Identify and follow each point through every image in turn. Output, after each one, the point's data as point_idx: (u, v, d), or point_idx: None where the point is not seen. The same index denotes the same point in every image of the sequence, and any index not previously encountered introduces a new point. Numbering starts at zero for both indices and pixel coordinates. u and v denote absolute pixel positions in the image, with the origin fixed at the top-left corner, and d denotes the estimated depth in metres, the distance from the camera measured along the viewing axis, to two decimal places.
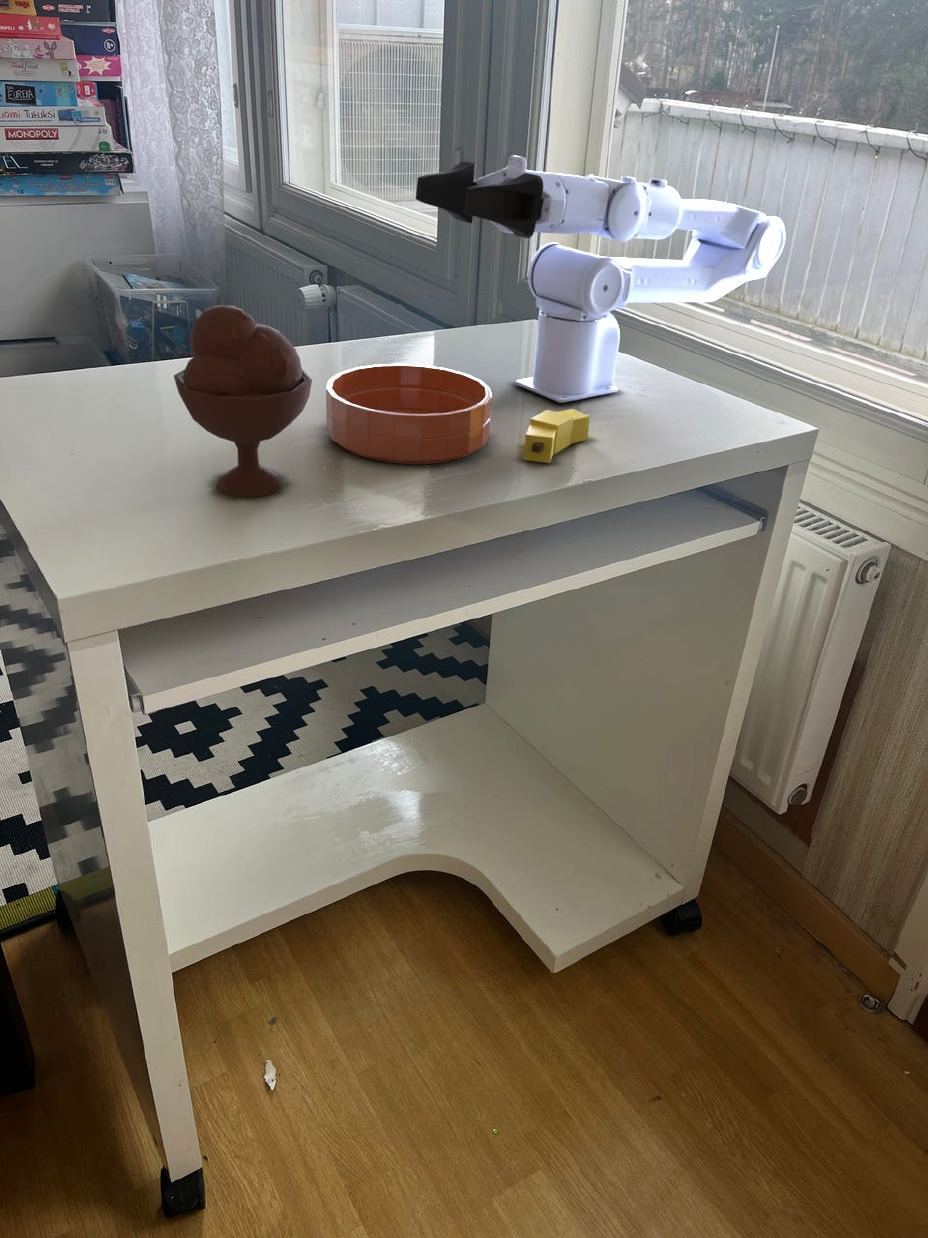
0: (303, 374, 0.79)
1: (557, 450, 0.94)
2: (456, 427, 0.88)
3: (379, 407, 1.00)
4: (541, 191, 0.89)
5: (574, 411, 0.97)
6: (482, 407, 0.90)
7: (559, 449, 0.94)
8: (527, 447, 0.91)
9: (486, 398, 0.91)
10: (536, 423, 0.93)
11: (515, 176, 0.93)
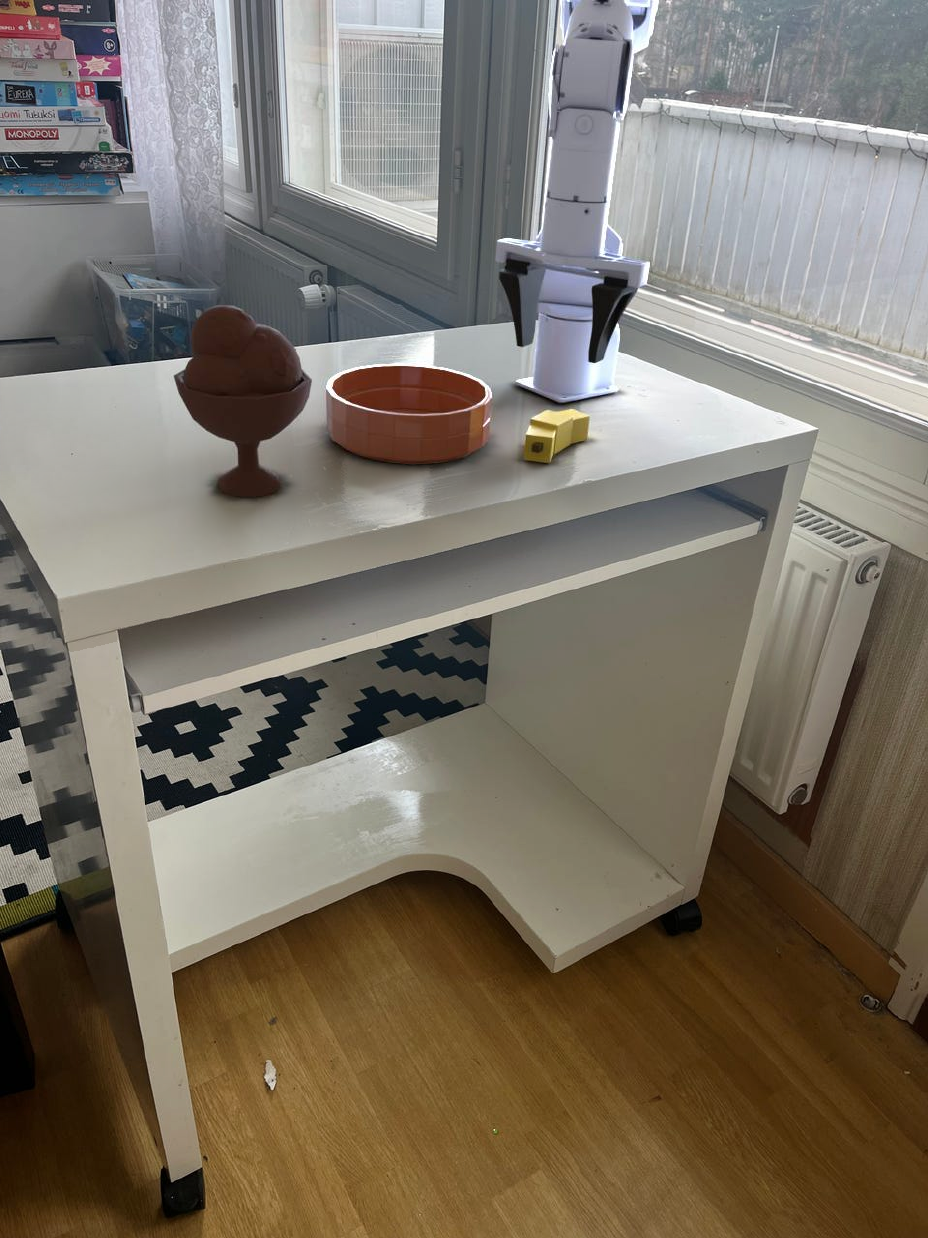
0: (303, 374, 0.79)
1: (557, 450, 0.94)
2: (456, 427, 0.88)
3: (379, 407, 1.00)
4: (623, 290, 0.83)
5: (574, 411, 0.97)
6: (482, 407, 0.90)
7: (559, 449, 0.94)
8: (527, 447, 0.91)
9: (486, 398, 0.91)
10: (536, 423, 0.93)
11: None
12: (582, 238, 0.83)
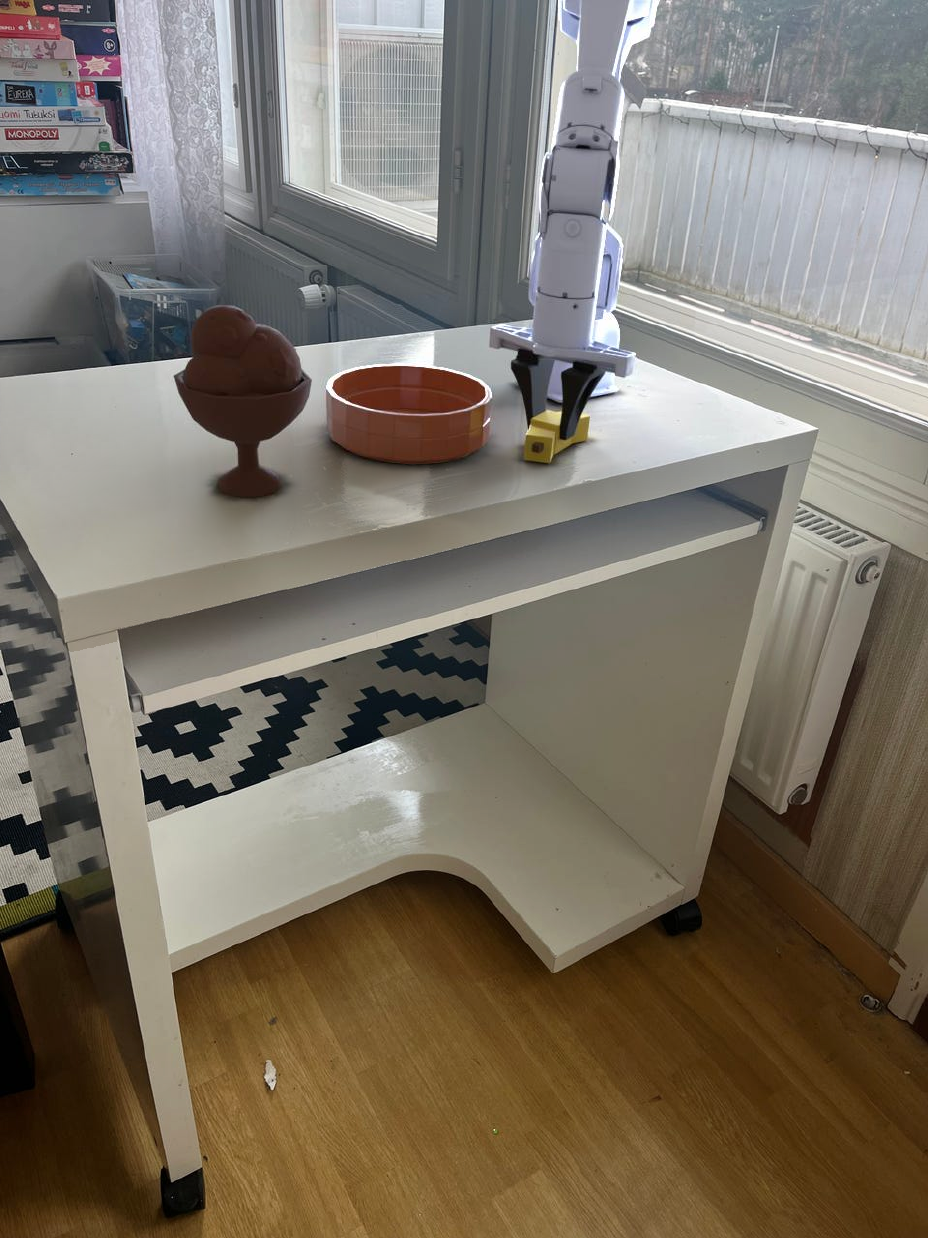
0: (303, 374, 0.79)
1: (557, 450, 0.94)
2: (456, 427, 0.88)
3: (379, 407, 1.00)
4: (590, 376, 0.88)
5: None
6: (482, 407, 0.90)
7: (560, 449, 0.94)
8: (527, 447, 0.91)
9: (486, 398, 0.91)
10: (536, 423, 0.93)
11: None
12: (571, 331, 0.87)
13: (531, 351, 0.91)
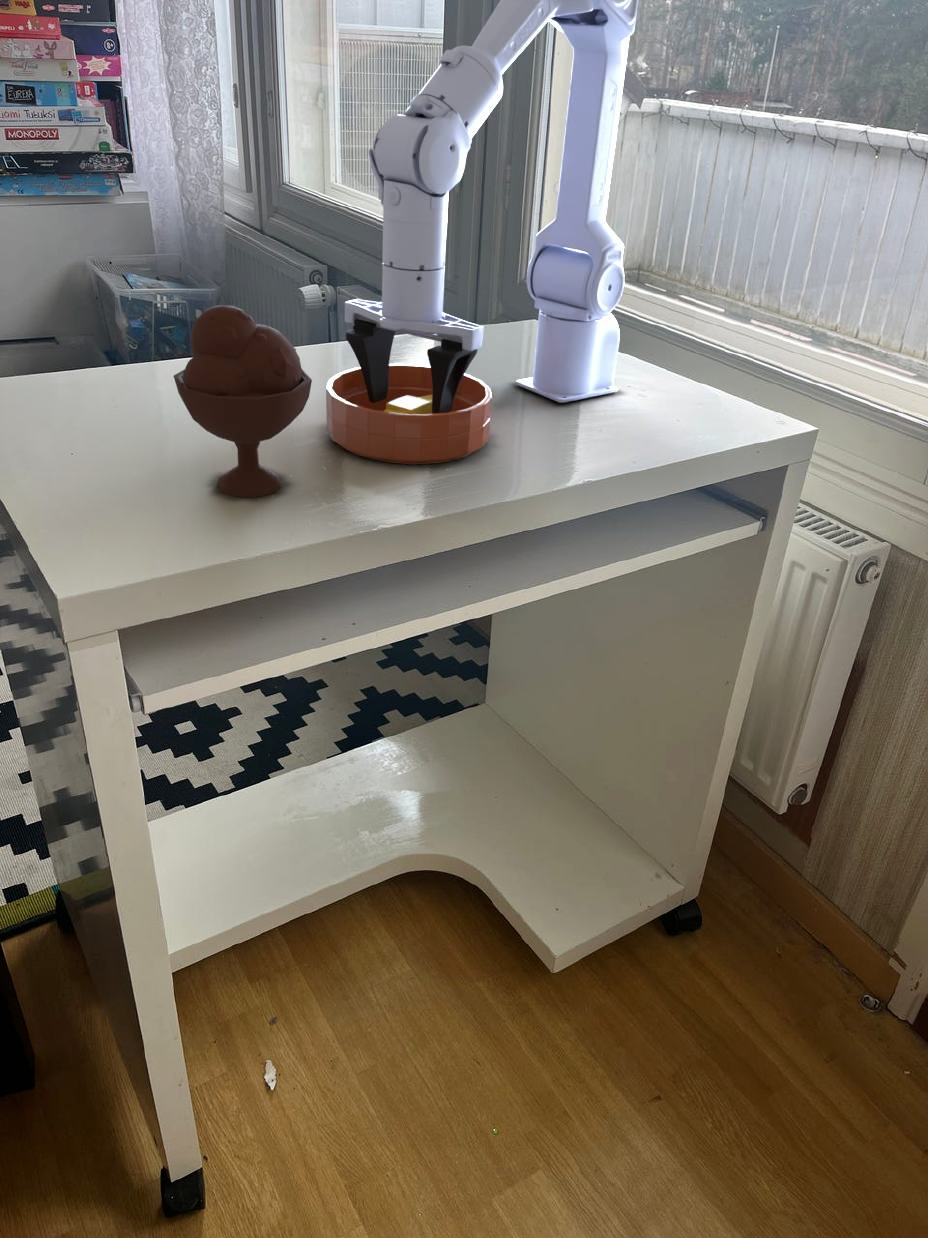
0: (303, 374, 0.79)
1: None
2: (456, 427, 0.88)
3: (379, 407, 1.00)
4: (457, 354, 0.86)
5: None
6: (482, 407, 0.90)
7: None
8: None
9: (486, 398, 0.91)
10: (391, 408, 0.92)
11: None
12: (416, 304, 0.86)
13: (367, 321, 0.91)
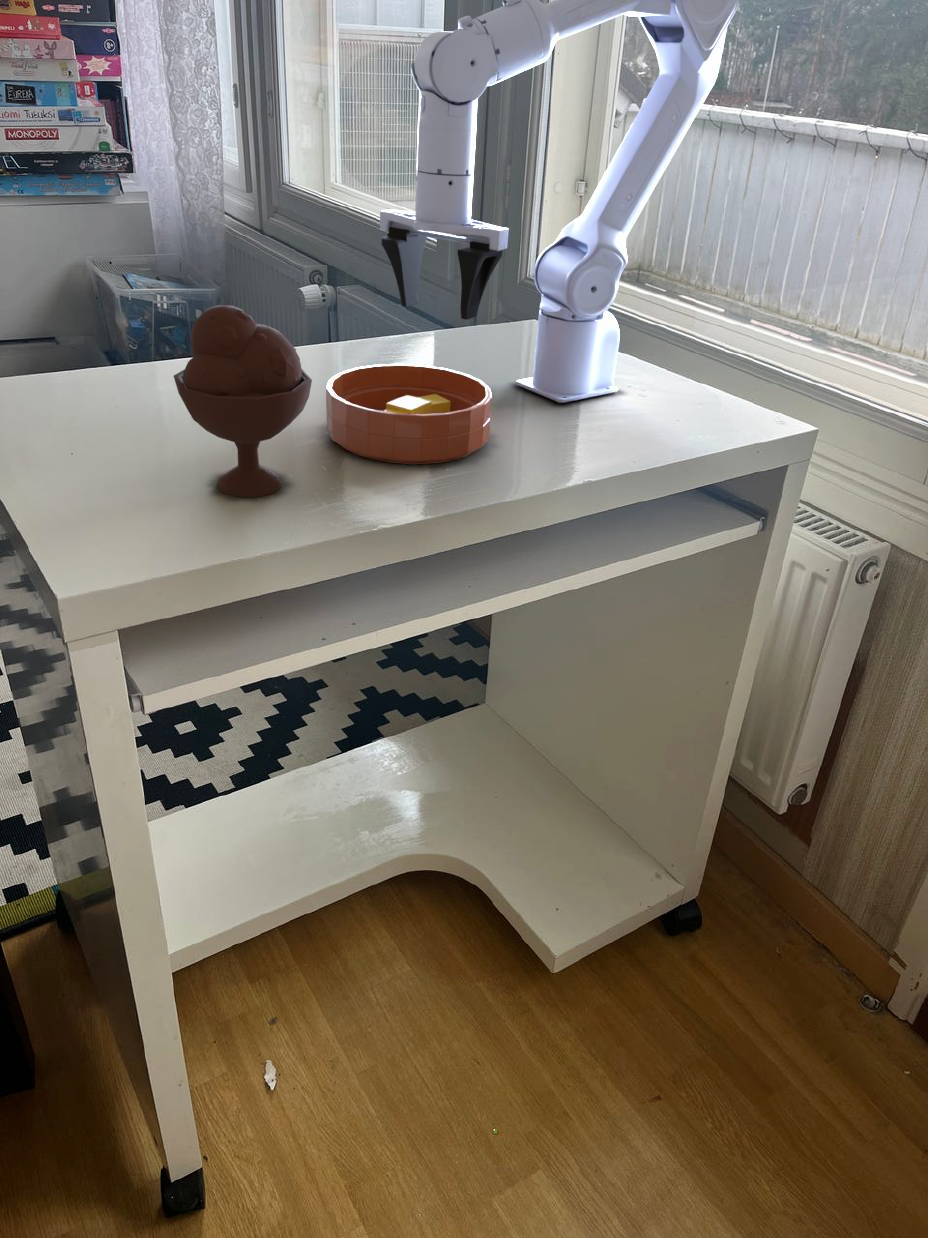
0: (303, 374, 0.79)
1: None
2: (456, 427, 0.88)
3: (379, 407, 1.00)
4: (485, 253, 0.94)
5: (436, 396, 0.96)
6: (482, 407, 0.90)
7: None
8: None
9: (486, 398, 0.91)
10: (391, 408, 0.92)
11: None
12: (448, 207, 0.94)
13: (400, 228, 0.99)
